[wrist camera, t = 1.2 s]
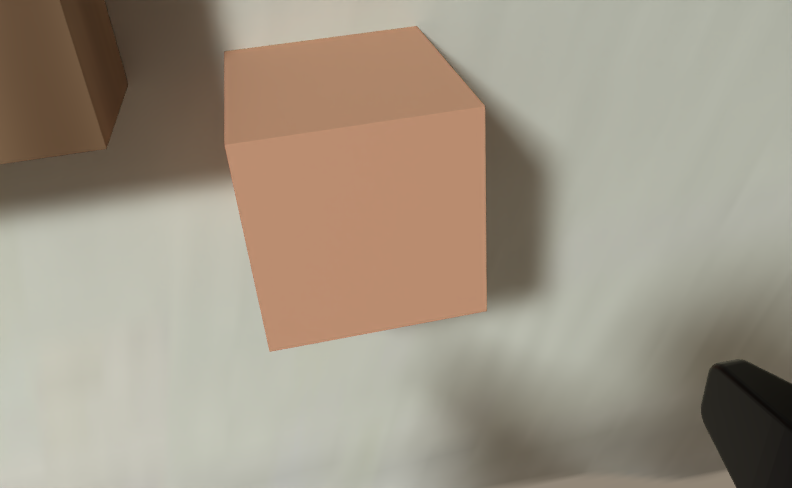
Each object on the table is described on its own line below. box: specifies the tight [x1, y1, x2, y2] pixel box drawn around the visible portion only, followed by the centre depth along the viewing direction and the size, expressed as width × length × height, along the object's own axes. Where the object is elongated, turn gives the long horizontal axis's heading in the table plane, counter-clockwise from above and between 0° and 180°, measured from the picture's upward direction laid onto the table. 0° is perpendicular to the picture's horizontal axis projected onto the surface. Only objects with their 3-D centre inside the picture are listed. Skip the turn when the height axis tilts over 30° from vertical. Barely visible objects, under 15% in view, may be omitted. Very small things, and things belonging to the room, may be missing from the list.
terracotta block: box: [224, 26, 487, 352], centre depth 17 cm, size 5×5×6 cm
